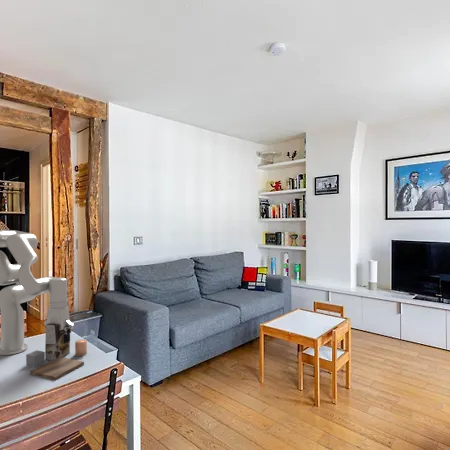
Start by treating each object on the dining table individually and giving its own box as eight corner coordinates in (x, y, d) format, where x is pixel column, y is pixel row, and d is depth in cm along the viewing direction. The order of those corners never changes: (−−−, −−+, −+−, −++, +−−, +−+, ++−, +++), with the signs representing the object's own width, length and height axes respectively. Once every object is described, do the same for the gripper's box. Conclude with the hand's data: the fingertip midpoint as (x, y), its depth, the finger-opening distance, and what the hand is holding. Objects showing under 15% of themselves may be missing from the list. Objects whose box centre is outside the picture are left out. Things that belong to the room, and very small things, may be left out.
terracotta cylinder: (72, 355, 151) (72, 342, 151) (80, 351, 156) (81, 338, 156) (81, 356, 150) (81, 343, 150) (89, 352, 154) (89, 340, 154)
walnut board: (29, 374, 132) (29, 371, 132) (59, 359, 146) (59, 356, 146) (55, 380, 127) (55, 377, 127) (83, 364, 141) (83, 361, 141)
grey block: (26, 365, 140) (26, 354, 140) (36, 361, 144) (36, 350, 144) (34, 367, 138) (34, 356, 138) (44, 363, 143) (44, 351, 143)
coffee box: (56, 360, 145) (57, 325, 145) (44, 359, 146) (44, 324, 146) (70, 352, 154) (70, 319, 154) (58, 351, 155) (59, 318, 155)
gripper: (37, 305, 149) (38, 341, 149) (66, 307, 143) (66, 346, 143) (51, 301, 156) (52, 336, 156) (79, 304, 150) (79, 340, 150)
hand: (59, 341), depth 150 cm, fingers open, 9 cm apart
